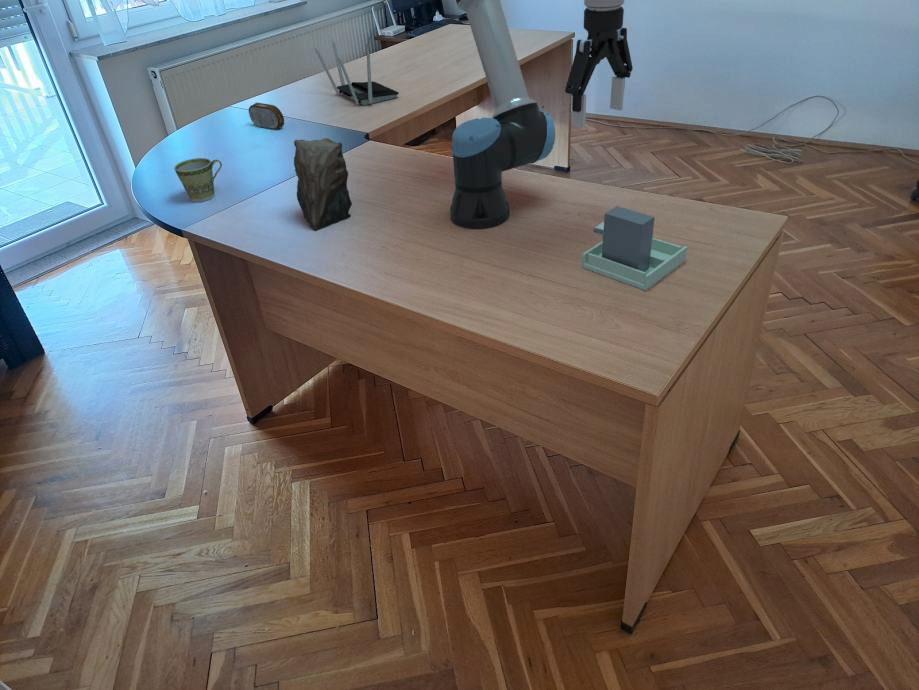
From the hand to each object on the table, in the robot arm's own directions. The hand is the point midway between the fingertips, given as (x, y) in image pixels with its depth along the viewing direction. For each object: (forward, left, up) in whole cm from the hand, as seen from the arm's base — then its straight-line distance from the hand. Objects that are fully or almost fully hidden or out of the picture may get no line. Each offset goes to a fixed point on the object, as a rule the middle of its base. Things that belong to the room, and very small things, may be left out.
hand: (597, 117), depth 144 cm
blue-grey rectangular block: (+14, -7, -28) cm, 32 cm away
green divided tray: (+14, -4, -29) cm, 32 cm away
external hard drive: (+2, +10, -29) cm, 31 cm away
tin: (-142, +3, -29) cm, 145 cm away
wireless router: (-141, +45, -29) cm, 151 cm away
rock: (-62, -32, -29) cm, 76 cm away
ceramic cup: (-103, -43, -29) cm, 115 cm away
